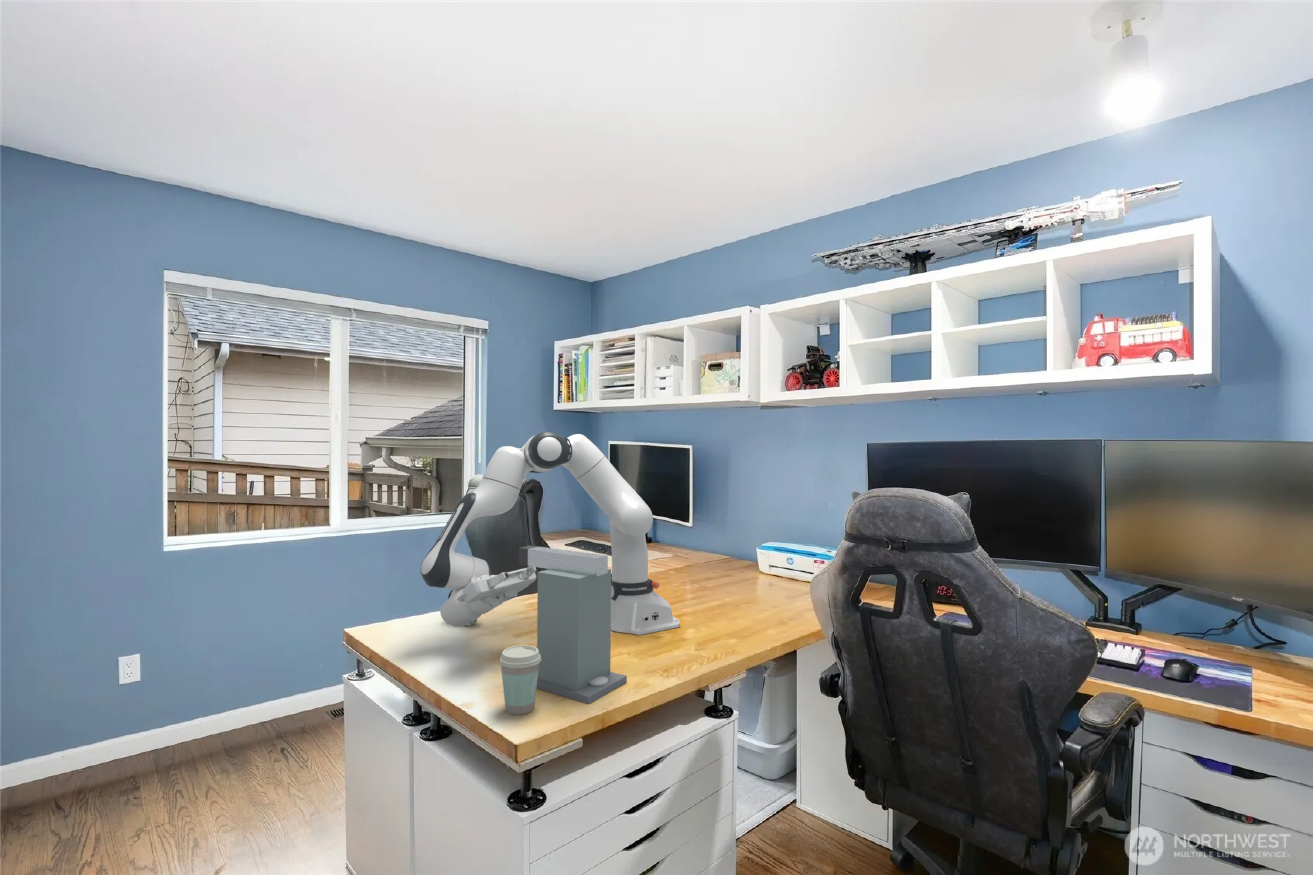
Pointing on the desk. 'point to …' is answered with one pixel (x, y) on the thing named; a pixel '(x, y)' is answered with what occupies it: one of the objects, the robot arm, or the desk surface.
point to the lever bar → (564, 560)
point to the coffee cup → (520, 678)
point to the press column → (575, 635)
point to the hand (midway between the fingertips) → (520, 571)
